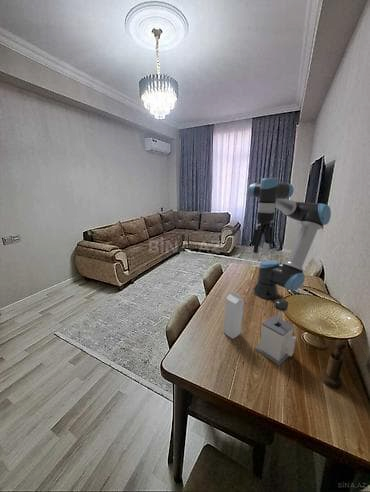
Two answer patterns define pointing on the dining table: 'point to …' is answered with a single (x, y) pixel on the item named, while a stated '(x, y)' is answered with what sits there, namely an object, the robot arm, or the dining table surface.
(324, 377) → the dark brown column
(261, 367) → the dining table surface
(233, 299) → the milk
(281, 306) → the dark gray domed cylinder
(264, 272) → the robot arm
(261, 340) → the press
